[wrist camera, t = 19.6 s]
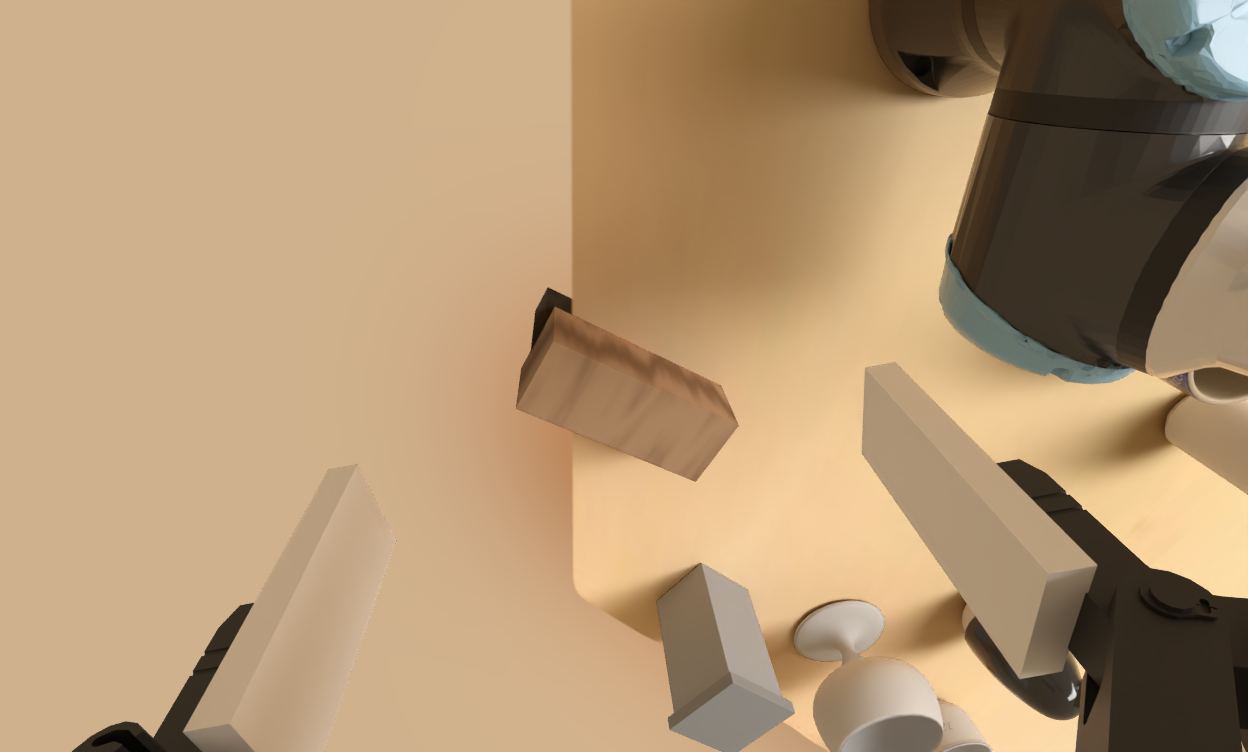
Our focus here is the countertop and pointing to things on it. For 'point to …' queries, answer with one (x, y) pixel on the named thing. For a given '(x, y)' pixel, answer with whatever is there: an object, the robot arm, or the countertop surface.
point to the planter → (1212, 385)
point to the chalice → (866, 686)
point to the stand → (718, 663)
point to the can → (1213, 436)
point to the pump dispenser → (1038, 692)
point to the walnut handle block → (621, 393)
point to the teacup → (959, 731)
